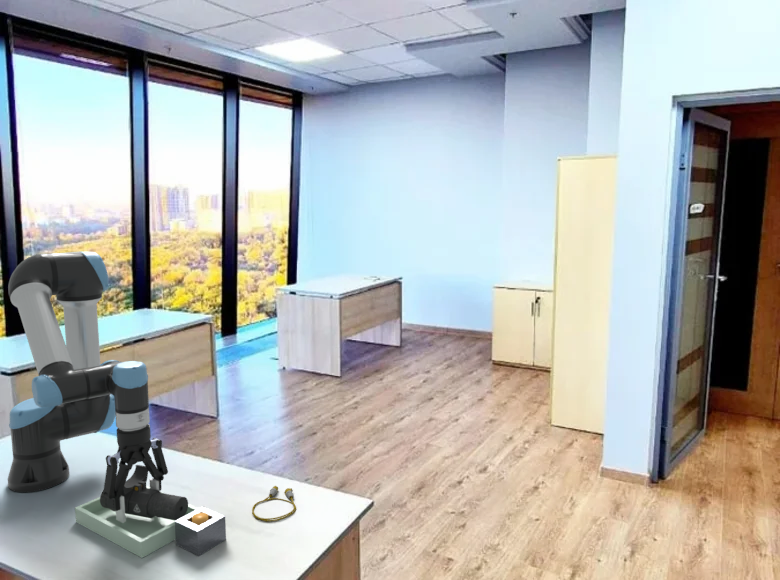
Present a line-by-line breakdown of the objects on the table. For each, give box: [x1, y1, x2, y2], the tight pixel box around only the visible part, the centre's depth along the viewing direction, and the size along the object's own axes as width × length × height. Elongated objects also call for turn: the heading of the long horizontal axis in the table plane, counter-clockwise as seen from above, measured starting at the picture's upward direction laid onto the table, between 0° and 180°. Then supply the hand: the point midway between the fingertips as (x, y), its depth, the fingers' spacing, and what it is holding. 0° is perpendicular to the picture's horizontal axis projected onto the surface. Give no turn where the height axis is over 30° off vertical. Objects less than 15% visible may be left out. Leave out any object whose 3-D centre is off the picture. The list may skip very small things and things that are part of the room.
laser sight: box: [99, 464, 189, 521], centre depth 147 cm, size 10×22×10 cm, turn 73°
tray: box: [74, 485, 200, 559], centre depth 147 cm, size 27×17×4 cm, turn 57°
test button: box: [192, 513, 208, 526], centre depth 139 cm, size 4×4×5 cm
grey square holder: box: [175, 506, 227, 557], centre depth 139 cm, size 8×8×6 cm
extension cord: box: [251, 485, 297, 522], centre depth 156 cm, size 12×16×2 cm
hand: (138, 512), depth 147 cm, fingers closed on laser sight, 9 cm apart
